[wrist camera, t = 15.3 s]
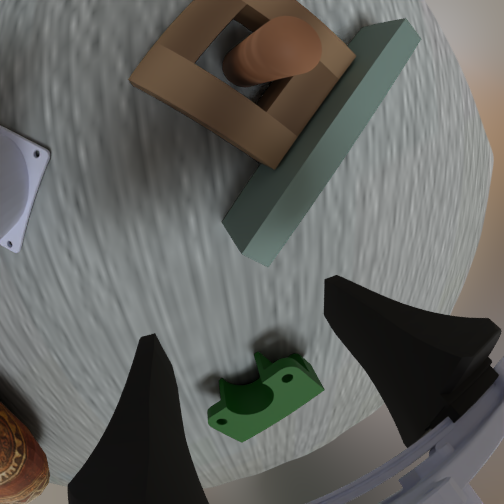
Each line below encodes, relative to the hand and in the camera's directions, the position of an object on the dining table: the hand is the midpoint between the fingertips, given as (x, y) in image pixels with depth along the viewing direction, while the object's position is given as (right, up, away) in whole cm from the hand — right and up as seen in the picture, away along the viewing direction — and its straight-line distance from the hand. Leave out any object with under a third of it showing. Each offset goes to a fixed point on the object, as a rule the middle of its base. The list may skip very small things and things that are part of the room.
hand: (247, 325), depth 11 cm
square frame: (0, +15, +4) cm, 16 cm away
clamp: (0, -10, +18) cm, 21 cm away
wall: (+4, +13, +7) cm, 15 cm away
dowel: (0, +15, +4) cm, 16 cm away
